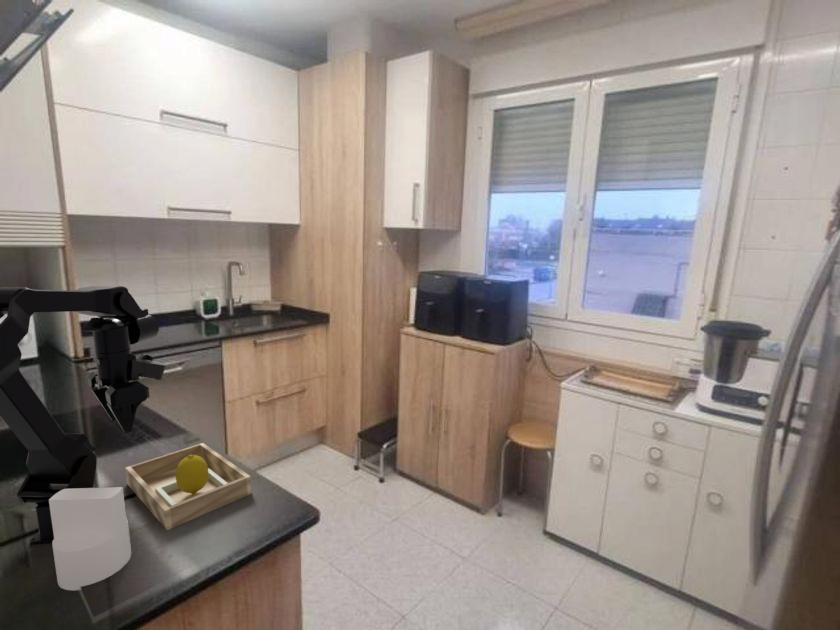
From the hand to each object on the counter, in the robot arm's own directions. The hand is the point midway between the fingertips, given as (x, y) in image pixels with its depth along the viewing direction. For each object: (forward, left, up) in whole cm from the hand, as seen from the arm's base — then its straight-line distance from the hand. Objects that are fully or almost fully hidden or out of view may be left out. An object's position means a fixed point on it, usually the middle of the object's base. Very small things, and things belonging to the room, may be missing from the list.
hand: (121, 426), depth 88 cm
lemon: (-9, -15, -12) cm, 21 cm away
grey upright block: (-26, -6, -12) cm, 30 cm away
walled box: (-6, -13, -12) cm, 19 cm away
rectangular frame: (-9, -15, -12) cm, 21 cm away
